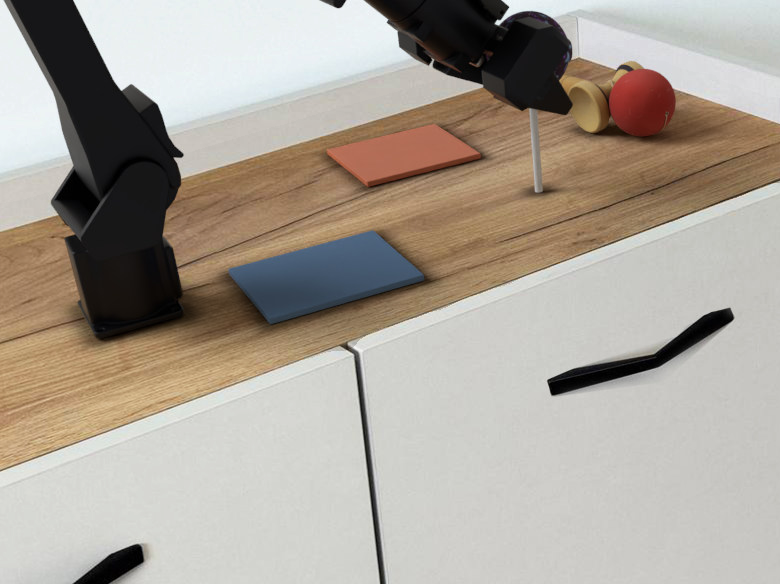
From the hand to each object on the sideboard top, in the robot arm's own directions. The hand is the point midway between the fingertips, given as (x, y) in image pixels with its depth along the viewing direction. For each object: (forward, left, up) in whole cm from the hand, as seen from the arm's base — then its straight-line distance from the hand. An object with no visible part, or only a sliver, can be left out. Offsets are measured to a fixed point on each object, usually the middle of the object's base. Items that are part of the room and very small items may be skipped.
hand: (547, 99), depth 108 cm
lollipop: (-1, 0, -8) cm, 8 cm away
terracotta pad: (-7, +15, -8) cm, 18 cm away
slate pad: (-22, -5, -8) cm, 24 cm away
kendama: (+12, +12, -8) cm, 18 cm away
